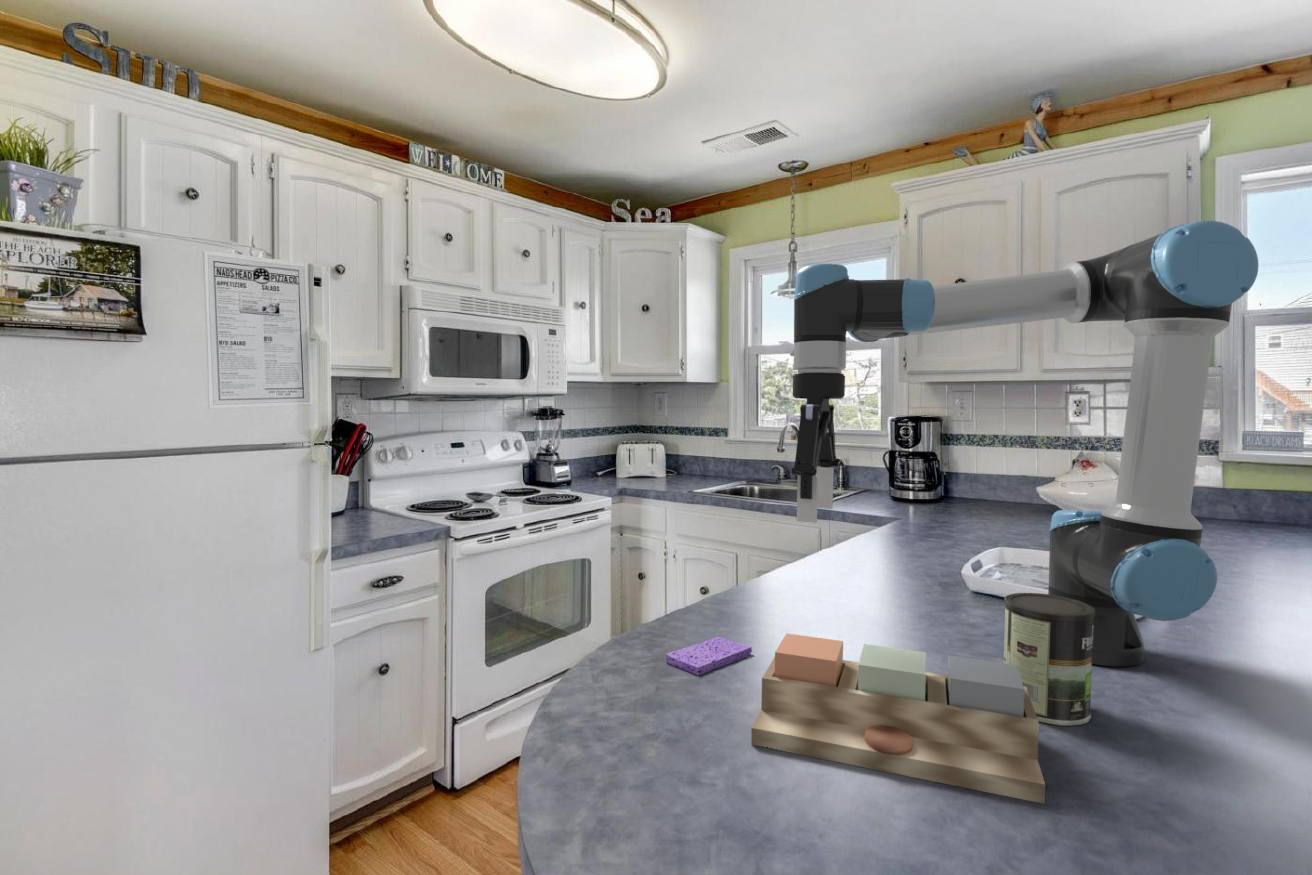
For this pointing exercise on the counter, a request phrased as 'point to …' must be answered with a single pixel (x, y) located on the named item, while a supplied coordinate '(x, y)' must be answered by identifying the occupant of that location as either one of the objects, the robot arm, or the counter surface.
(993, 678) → the grey key
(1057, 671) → the coffee can
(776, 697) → the key panel
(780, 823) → the counter surface
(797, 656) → the terracotta key
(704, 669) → the sponges
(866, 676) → the sage key
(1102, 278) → the robot arm
